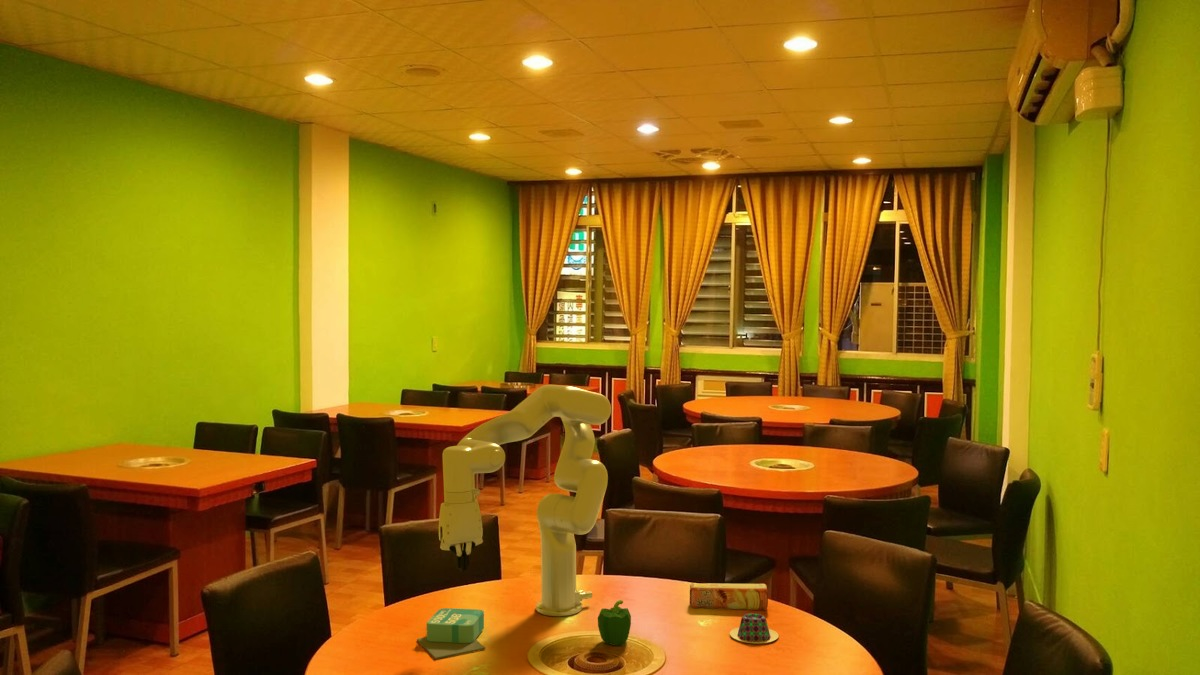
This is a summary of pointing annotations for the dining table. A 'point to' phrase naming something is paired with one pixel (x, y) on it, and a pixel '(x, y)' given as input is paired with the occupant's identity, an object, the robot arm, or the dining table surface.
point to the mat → (449, 648)
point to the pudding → (754, 630)
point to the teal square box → (455, 625)
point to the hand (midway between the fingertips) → (462, 569)
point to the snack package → (729, 596)
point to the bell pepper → (614, 624)
